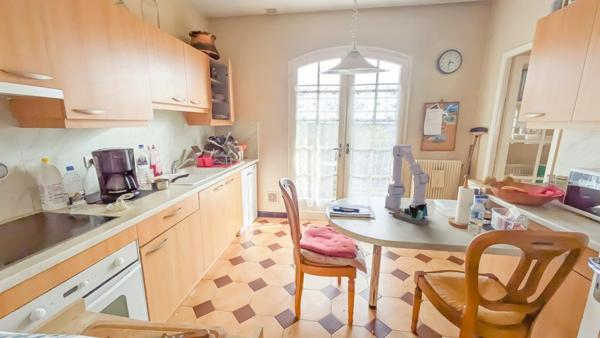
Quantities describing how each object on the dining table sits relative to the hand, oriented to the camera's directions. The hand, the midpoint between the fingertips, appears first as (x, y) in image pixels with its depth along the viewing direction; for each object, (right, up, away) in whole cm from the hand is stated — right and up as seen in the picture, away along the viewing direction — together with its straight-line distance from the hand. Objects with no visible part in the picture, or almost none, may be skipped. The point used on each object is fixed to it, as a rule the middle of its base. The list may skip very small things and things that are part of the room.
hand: (416, 216), depth 143 cm
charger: (0, -4, +1) cm, 4 cm away
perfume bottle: (+9, +2, +7) cm, 11 cm away
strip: (-4, -3, +5) cm, 7 cm away
